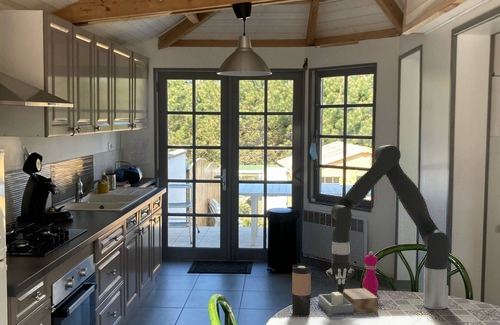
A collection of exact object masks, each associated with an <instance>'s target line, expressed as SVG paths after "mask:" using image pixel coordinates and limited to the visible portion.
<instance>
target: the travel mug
mask: <svg viewBox="0 0 500 325" xmlns="http://www.w3.org/2000/svg"><path fill="white" fill-rule="evenodd" d="M311 269H312V268H311V265H310V264H307V263H296V264H292V271H291V272H292V278H291V279H292V280H291V282H292V283H291V286H292V287H291V288H292V289H291V300H292V301H291V302H292V304H291V305H292V314H293V315H294V316H296V317H308V316H309V315H310V313H311V298H312V297H311V296H312V295H311V294H312V293H311V290H312V289H311V288H312V286H311V285H312V281H311V279H312V278H311V276H312V274H311V272H312V271H311Z"/></svg>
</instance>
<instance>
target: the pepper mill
mask: <svg viewBox="0 0 500 325" xmlns="http://www.w3.org/2000/svg"><path fill="white" fill-rule="evenodd" d="M363 261H364V264H365V267H364V268H365V269H366V270H365V271H366V272H365V277H364V278H363V280H362V288H365V289H367V290H368V291H369V292H371V293H372V294H373V295H375V296H378V290H377V289H379V281H378V279H377V276H376V269H377V264H378V257H377V256H376V255H375V254H374V252H373V251H369V252H368V254H367V255H365V257H364V259H363Z"/></svg>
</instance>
